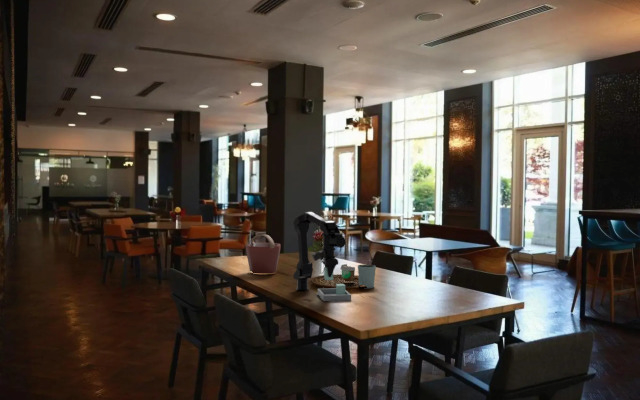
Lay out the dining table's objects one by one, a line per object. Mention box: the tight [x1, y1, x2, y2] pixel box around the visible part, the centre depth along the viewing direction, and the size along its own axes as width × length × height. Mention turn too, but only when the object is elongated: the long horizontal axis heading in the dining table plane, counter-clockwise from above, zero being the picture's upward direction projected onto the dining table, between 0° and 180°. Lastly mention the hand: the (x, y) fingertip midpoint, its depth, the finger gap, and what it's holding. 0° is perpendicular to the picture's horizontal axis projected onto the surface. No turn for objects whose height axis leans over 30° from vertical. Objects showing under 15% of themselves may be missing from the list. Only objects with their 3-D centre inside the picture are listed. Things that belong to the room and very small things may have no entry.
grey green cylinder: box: [357, 264, 377, 289], centre depth 288 cm, size 10×10×12 cm
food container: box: [340, 263, 356, 282], centre depth 299 cm, size 12×6×10 cm, turn 21°
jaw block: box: [323, 266, 334, 281], centre depth 260 cm, size 4×4×6 cm
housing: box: [317, 283, 352, 302], centre depth 260 cm, size 17×14×6 cm
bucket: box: [245, 234, 281, 273], centre depth 331 cm, size 24×22×25 cm
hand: (328, 276), depth 260 cm, fingers closed on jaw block, 4 cm apart
